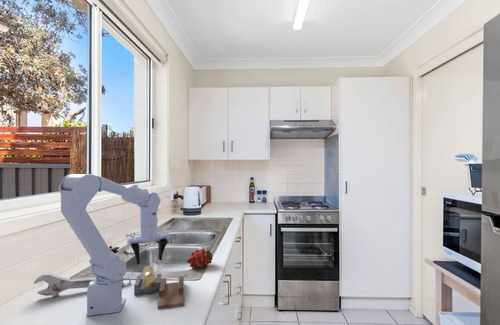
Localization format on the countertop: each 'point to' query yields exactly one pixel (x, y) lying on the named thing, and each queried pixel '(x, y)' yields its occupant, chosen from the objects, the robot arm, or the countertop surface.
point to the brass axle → (148, 277)
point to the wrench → (64, 284)
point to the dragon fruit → (200, 258)
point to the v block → (141, 290)
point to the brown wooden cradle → (171, 294)
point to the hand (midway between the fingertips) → (149, 261)
